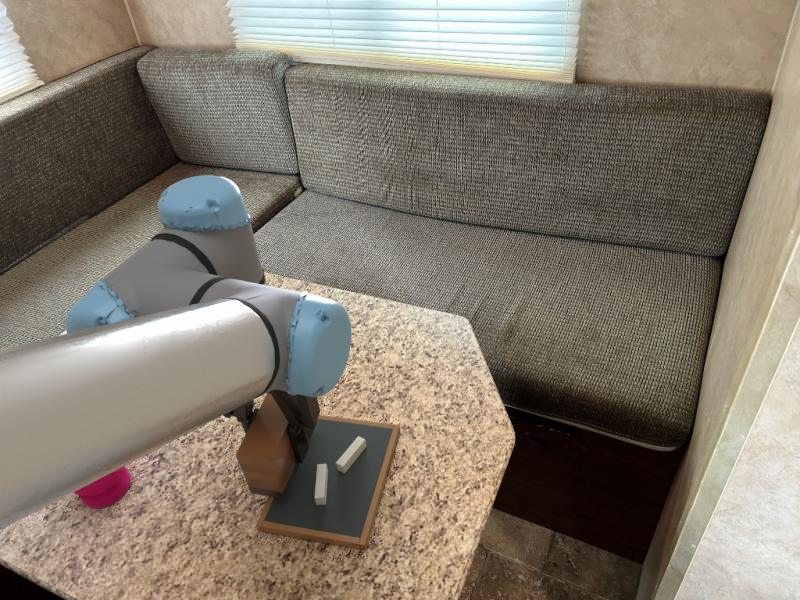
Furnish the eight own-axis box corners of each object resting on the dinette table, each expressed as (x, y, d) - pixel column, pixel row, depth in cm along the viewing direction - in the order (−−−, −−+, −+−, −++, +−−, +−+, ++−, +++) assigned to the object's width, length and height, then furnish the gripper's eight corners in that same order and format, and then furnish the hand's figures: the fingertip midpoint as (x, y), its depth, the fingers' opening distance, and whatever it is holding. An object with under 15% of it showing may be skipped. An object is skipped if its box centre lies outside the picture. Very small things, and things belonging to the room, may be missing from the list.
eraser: (285, 499, 75) (271, 460, 70) (251, 493, 76) (235, 454, 71) (317, 423, 84) (306, 383, 79) (286, 419, 85) (273, 379, 80)
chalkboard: (366, 550, 72) (364, 545, 71) (257, 530, 75) (255, 525, 74) (400, 430, 85) (399, 424, 84) (307, 417, 88) (305, 412, 88)
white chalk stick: (344, 474, 79) (342, 466, 78) (337, 470, 79) (335, 462, 78) (366, 446, 82) (365, 439, 81) (359, 443, 83) (358, 435, 82)
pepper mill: (110, 518, 78) (39, 417, 65) (66, 504, 80) (-10, 404, 67) (145, 472, 83) (86, 370, 71) (103, 460, 85) (38, 359, 73)
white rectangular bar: (325, 504, 76) (323, 497, 75) (316, 505, 76) (314, 498, 75) (328, 470, 79) (326, 463, 78) (319, 471, 79) (317, 464, 78)
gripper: (329, 301, 65) (356, 437, 80) (182, 288, 69) (234, 420, 84) (305, 350, 59) (339, 486, 74) (147, 333, 63) (209, 466, 78)
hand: (283, 451), depth 79 cm, fingers closed on eraser, 5 cm apart
